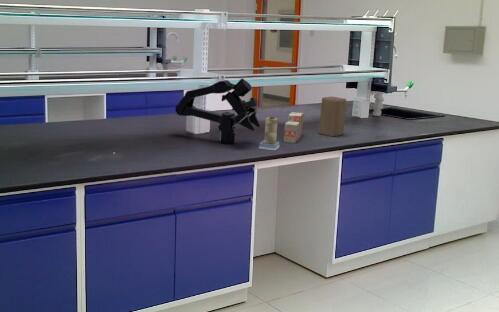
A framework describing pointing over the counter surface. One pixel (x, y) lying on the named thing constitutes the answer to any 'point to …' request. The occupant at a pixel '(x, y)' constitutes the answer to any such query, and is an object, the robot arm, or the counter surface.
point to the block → (332, 116)
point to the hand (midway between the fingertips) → (256, 128)
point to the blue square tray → (269, 146)
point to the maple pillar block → (270, 130)
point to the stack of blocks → (293, 127)
